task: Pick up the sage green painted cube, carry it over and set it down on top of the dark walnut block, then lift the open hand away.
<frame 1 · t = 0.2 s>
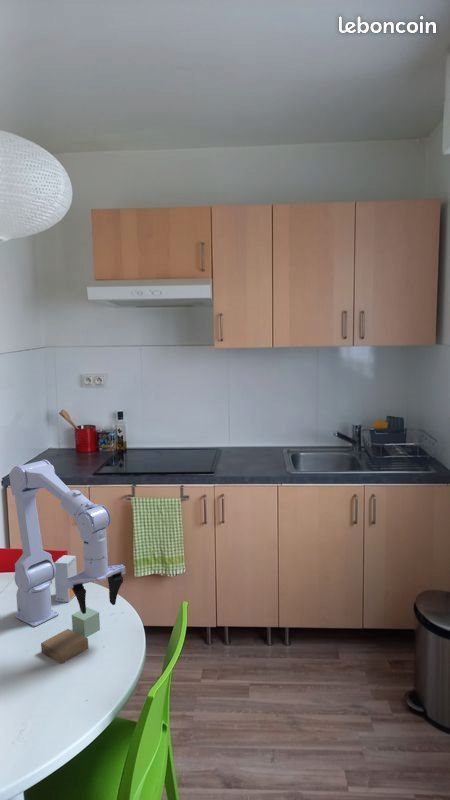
hand: (98, 607, 141), 10 cm above the table, tool pointing down, fingers open, 7 cm apart
walnut block: (65, 652, 140), on the table
skincare box: (67, 598, 168), on the table
sage cube: (86, 631, 149), on the table
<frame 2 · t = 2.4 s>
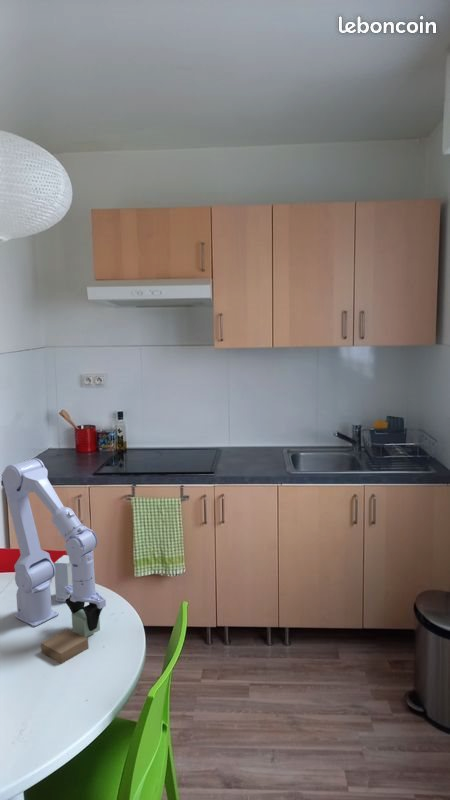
hand: (86, 626, 149), 1 cm above the table, tool pointing down, fingers closed on sage cube, 5 cm apart
sage cube: (86, 631, 149), on the table, touching gripper
everything else where it was.
when the fingers open (5 cm above the table, at t = 6.0 s): sage cube drops 1 cm, resting on walnut block.
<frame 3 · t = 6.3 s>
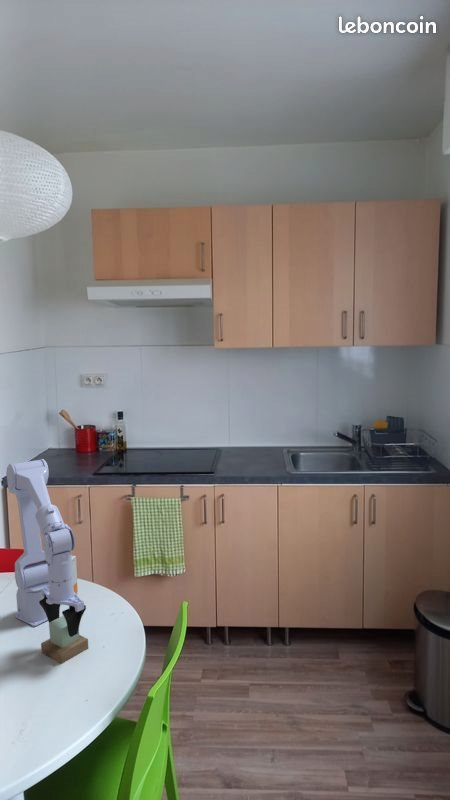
hand: (63, 630, 139), 5 cm above the table, tool pointing down, fingers open, 7 cm apart
walnut block: (65, 652, 140), on the table, touching sage cube
sage cube: (64, 640, 140), point 3 cm above the table, touching walnut block
everything else where it was.
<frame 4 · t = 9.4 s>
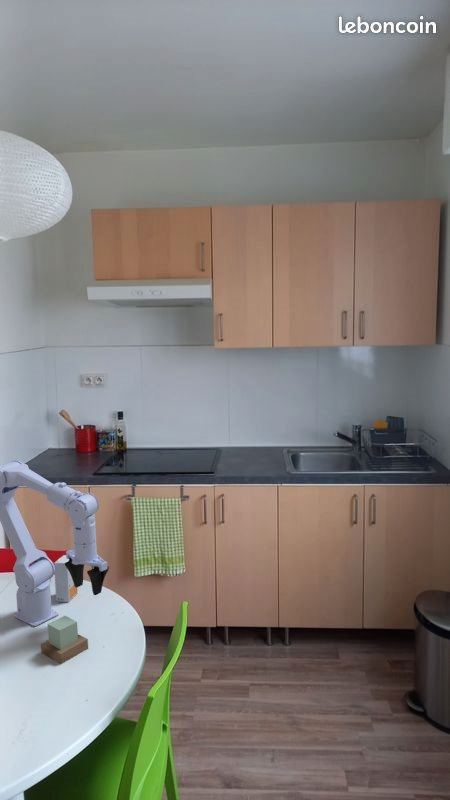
hand: (87, 589, 150), 10 cm above the table, tool pointing down, fingers open, 7 cm apart
nothing on the table moved.
at the end: sage cube 0.2 cm off-centre on the walnut block, point 3.0 cm above the walnut block's base; sage cube tilted 0°; the gripper is holding nothing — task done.
